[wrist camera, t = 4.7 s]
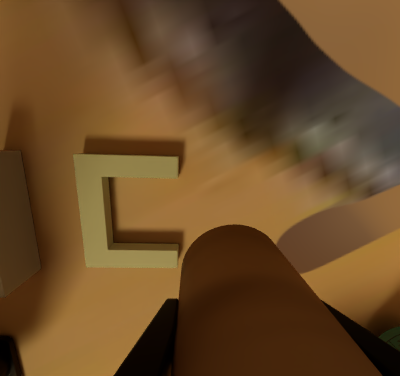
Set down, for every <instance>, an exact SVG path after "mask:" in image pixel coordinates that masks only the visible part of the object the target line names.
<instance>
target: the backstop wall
mask: <svg viewBox="0 0 400 376" xmlns="http://www.w3.org/2000/svg"><path fill="white" fill-rule="evenodd" d="M40 269H41V264H40V258H39V252H38V247H37V241H36V235H35V230H34V224H33V218H32V213H31V207H30V201H29V195H28V190H27V184H26V178H25V173H24V167H23V161H22V156H21V150H0V297H6V296H8V295H9V294H10V293H11V292H13V291H14V290H15V289H16V288H18V287H19V286H20V285H21V284H23V283H24V282H25V281H26V280H27V279H29V278H30V277H31V276H32V275H34V274H35V273H36V272H37V271H39V270H40Z"/></svg>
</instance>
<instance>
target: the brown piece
mask: <svg viewBox="0 0 400 376" xmlns="http://www.w3.org/2000/svg"><path fill="white" fill-rule="evenodd" d="M171 376H382V374H381V373H380V372H379V371H378V370H377V368H376V367H375V366H374V365H373V363H372V362H371V361H370V360H369V359H368V357H367V356H366V355H365V354H364V352H363V351H362V350H361V349H360V348H359V346H358V345H357V344H356V343H355V341H354V340H353V339H352V338H351V337H350V335H349V334H348V333H347V332H346V330H345V329H344V328H343V327H342V326H341V324H340V323H339V322H338V321H337V320H336V318H335V317H334V316H333V315H332V313H331V312H330V311H329V310H328V309H327V307H326V306H325V305H324V304H323V302H322V301H321V300H320V299H319V298H318V296H317V295H316V294H315V293H314V291H313V290H312V289H311V288H310V287H309V285H308V284H307V283H306V282H305V280H304V279H303V278H302V277H301V276H300V274H299V273H298V272H297V271H296V270H295V268H294V267H293V266H292V265H291V263H290V262H289V261H288V260H287V259H286V257H285V256H284V255H283V254H282V252H281V251H280V250H279V249H278V248H277V246H276V245H275V244H274V243H273V241H272V240H271V239H270V238H269V237H268V236H267V235H265V234H264V233H262V232H261V231H259V230H257V229H255V228H252V227H249V226H244V225H225V226H220V227H217V228H214V229H211V230H209V231H207V232H206V233H204V234H202V235H201V236H200V237H198V238H197V239H196V240H195V241H194V242H193V243H192V245H191V246H190V247H189V249H188V250H187V252H186V254H185V257H184V259H183V263H182V270H181V280H180V290H179V300H178V310H177V320H176V330H175V339H174V349H173V359H172V369H171Z"/></svg>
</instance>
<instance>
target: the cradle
mask: <svg viewBox="0 0 400 376" xmlns="http://www.w3.org/2000/svg"><path fill="white" fill-rule="evenodd" d="M73 159H74V168H75V176H76V185H77V194H78V202H79V211H80V219H81V228H82V237H83V245H84V254H85V262H86V267H114V268H177V267H178V260H179V244H149V243H113V230H112V217H111V205H110V192H109V179H108V177H133V178H175V179H178V177H179V156H154V155H119V154H83V153H82V154H73Z"/></svg>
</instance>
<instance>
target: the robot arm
mask: <svg viewBox="0 0 400 376" xmlns="http://www.w3.org/2000/svg"><path fill="white" fill-rule="evenodd" d="M321 301H322V300H321ZM322 302H323V304H324V305H325V306H326V307H327V309H328V310H329V311H330V312H331V313H332V315H333V316H334V317H335V318H336V320H337V321H338V322H339V323H340V324H341V326H342V327H343V328H344V329H345V330H346V332H347V333H348V334H349V335H350V337H351V338H352V339H353V340H354V341H355V343H356V344H357V345H358V346H359V348H360V349H361V350H362V351H363V352H364V354H365V355H366V356H367V357H368V359H369V360H370V361H371V362H372V363H373V365H374V366H375V367H376V368H377V370H378V371H379V372H380V373H381V374H382V376H400V351H399V350H397V349H395V348H394V347H392V346H391V345H389V344H388V343H386V342H385V341H383V340H382V339H380V338H379V337H377V336H376V335H374V334H373V333H371V332H369V331H368V330H366V329H365V328H363V327H362V326H360V325H359V324H357V323H356V322H354V321H353V320H351V319H350V318H348V317H347V316H345V315H343V314H342V313H340V312H339V311H337V310H336V309H334V308H333V307H331V306H330V305H328V304H327V303H325V302H324V301H322ZM177 310H178V299H167V300H166V301H165V302H164V304H163V305H162V307H161V308H160V310H159V311H158V313H157V314H156V315H155V317H154V318H153V320H152V321H151V323H150V324H149V325H148V327H147V328H146V330H145V331H144V333H143V334H142V335H141V337H140V338H139V340H138V341H137V343H136V344H135V346H134V347H133V348H132V350H131V351H130V353H129V354H128V356H127V357H126V358H125V360H124V361H123V363H122V364H121V366H120V367H119V369H118V370H117V371H116V373H115V374H114V376H171V369H172V359H173V349H174V339H175V330H176V320H177ZM0 376H21V373H20V369H19V365H18V360H17V356H16V352H15V348H14V343H13V340H12V338H11V337H9V336H0Z"/></svg>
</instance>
